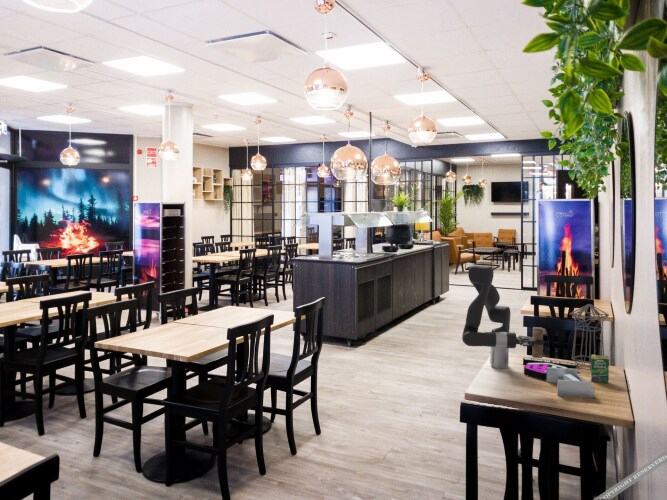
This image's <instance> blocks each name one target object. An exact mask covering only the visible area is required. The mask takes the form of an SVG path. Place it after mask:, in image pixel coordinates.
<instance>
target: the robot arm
mask: <svg viewBox="0 0 667 500" xmlns="http://www.w3.org/2000/svg"><path fill="white" fill-rule="evenodd" d="M468 279H469V282H470V283H471V285H472V286H473V287H474V289H475V290H476V292H477V293H478V295H477V296H475V298H474V299H473V301H472V302H471V303H470V304H469V306H468V308H467V310H466V311H467V312H466V317H465V324H464V328H463V331H462V336H461V340H462V343H464V345H466V346H468V347H490V352H489V353H490V356H489V357H490V359H489V361H490V364H491V365H490V364H489V365H490V366H491V368H495V367H496V369H507V367H508V368H509V358H510V357H509V355H510V350H509V349H516V347H517V345H519V346H523V347H532V346H535V345H544V344H545V340H544V339H543V340H535V339H533V336H527V335H518V336H517V333H516V332H512V331H511V332H510V326H511V325H510V324H511V323H510V322H511V309H510V307H509V306H505V305H503V306H502V305H498V304H499V302H500V300H501V299H500V297H501V296H500V293H499V292H498V289H497V287H496V286H494V284H493V279H494V269H493V267H492V266H487V265H481V264H472V265H471V266H470V267H469V269H468ZM484 308H485V310H486V312H487V316H488V318H489V321H491V322H492V323H497V324H501V326H499V327H495V328H492V330H491V331H484V332H481V331H479V327H480V326H481V321H482V317H483V311H484Z"/></svg>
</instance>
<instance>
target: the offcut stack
mask: <svg viewBox="0 0 667 500" xmlns="http://www.w3.org/2000/svg"><path fill="white" fill-rule="evenodd" d="M564 380H573V381H580V380H578V379H577V378H575V377H574V376H572V375H571V374H564Z"/></svg>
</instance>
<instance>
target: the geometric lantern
mask: <svg viewBox="0 0 667 500" xmlns="http://www.w3.org/2000/svg"><path fill="white" fill-rule="evenodd" d="M589 308H590V310H591V311H588V310H589ZM599 311H600V312H601V313H600V312H599ZM583 313H584V314H583ZM582 314H583V315H582ZM586 314H587V316H586ZM569 315H571V316H573V318H574V335H573V336H574V337H573V344H572V350H571V352H572V353H571V360H572V361H573V362H575V364H576V365H577V369H582V370H588V371H591V355H592V354H591V352H592V351H591V346H592V332H593V355H596V332H599V331H600V333H601V334H600V337H601V339H600V340H601V341H600V355H601V356H605V351H604V350H605V349H604V328H603V325H604V321H605V320H607V318H608V317H609V316H610V315H609V314H608V313H607V312H605V311H603V310H601V309H599V308H598V307H596V306H594V305H593V304H591V303H587V304H586V305H584V306H582V307H580V308H578V309H576V310H574V311H572V312H569ZM595 316H596V317H595ZM581 318H582V319H583V320H582V319H581ZM585 318H587V319H586V320H585ZM577 320H578V323H577ZM593 320H597V322H598V323H597V324H596V326H589V325H590V324H591V322H592V321H593ZM601 320H602V321H601ZM588 321H589V322H588ZM580 322H581V323H582V325H579V324H580ZM587 322H588V323H587ZM598 325H600V327H598ZM581 327H582V328H581ZM585 327H586V329H585ZM591 328H592V329H593V330H591ZM577 330H582V336H581V337H582V338H581V346H580V355H577V356H575V355H576V354H575V353H576V342H577V341H576V340H577ZM585 331H586V334H585V333H584V332H585ZM588 333H589V355H587V353H588V352H587V349H588ZM584 334H585V336H586V337H585V355H583V354H582V352H583V344H584ZM579 357H580V359H576V358H579ZM583 357H584V359H583ZM586 358H589V360H588V361H586ZM585 363H586V364H585ZM588 364H589V365H588ZM582 366H583V367H582ZM584 366H585V367H589V368H584Z"/></svg>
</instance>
